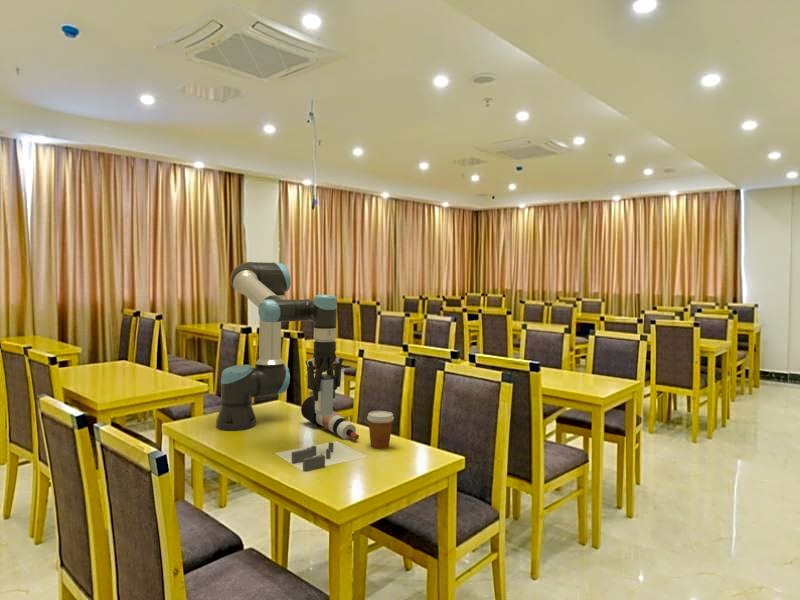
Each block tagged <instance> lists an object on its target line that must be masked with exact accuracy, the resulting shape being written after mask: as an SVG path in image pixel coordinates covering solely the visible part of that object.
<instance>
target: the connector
mask: <svg viewBox="0 0 800 600" xmlns="http://www.w3.org/2000/svg"><path fill="white" fill-rule="evenodd" d="M319 391H321V411H317V410H315V413H316V414H318V415H321V416H327V415H333V407H334V399H333V379H331V376H330V375H327V373H324V374H323V373H322V377H321V382H320V387H319Z"/></svg>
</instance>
